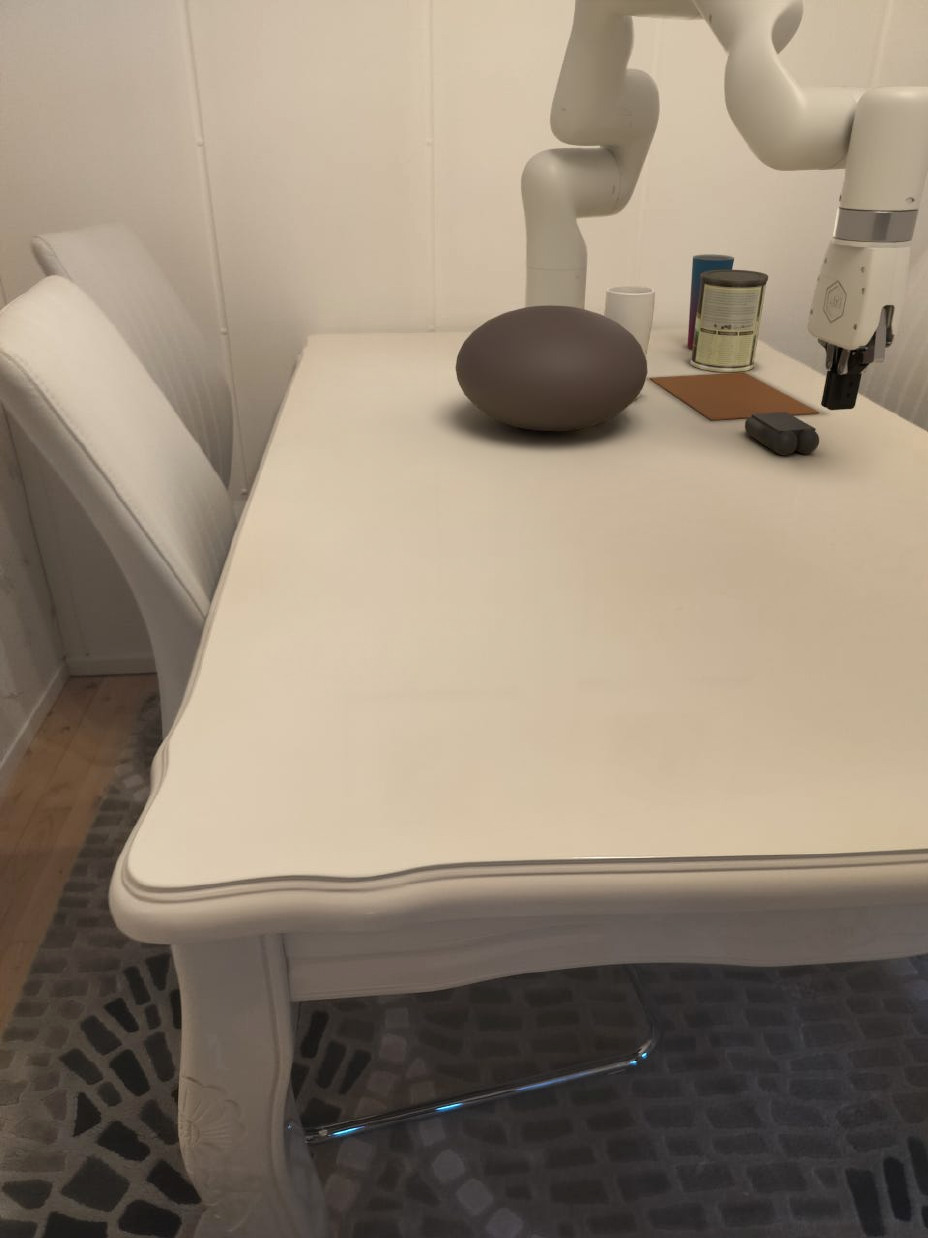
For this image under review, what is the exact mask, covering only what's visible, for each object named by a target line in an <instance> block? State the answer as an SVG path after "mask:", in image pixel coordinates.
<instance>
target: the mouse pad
mask: <svg viewBox="0 0 928 1238" xmlns="http://www.w3.org/2000/svg"><path fill="white" fill-rule="evenodd" d="M649 380H650V381H652V382H653V383H655V384H656V385H658V386H659V387H661V388H662V389H663V390H665V391H667V392H668V393H669V394H671V395H672V396H674V397H675V398H677V399H678V400H680V401H681V402H683V403H684V404H686V405H687V406H688V407H690V408H691V409H693V410H695V411H696V412H697V413H699V414H700V415H702V416H703V417H705V418H706V419H707V420H709V421H724V420H725V421H726V420H740V419H747V418H748V417H749V416H751V415H752V414H755V413H761V414H764V413H774V412H787V413H789V414H791V415H793V416H801V415H802V416H803V415H815V414H819V411H818V410H816V409H814V408H812V407H810V406H809V405H806V404H804V403H803V402H801V401H799V400H797V399H796V398H793V397H791V396H790V395H788V394H786V393H784V392H782V391H780V390H778V389H776V388H774V387H773V386H771V385H769V384H767V383H765V382H763V381H762V380H759V379H757V378H755V377H754V376H751V375H750V374H748V373H746V372H726V373H712V374H695V375H692V374H691V375H677V376H675V375H674V376H657V377H649Z"/></svg>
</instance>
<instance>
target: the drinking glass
mask: <svg viewBox="0 0 928 1238" xmlns="http://www.w3.org/2000/svg"><path fill="white" fill-rule="evenodd" d="M655 295H656V291H655V289H653V288H651V287H647V286H641V285H640V286H639V285H615V286H610V287H608V288H607V289H606V291H605V298H604V309H603V316H605V317H607V318H609V319H611V320H613V321H615V322H617V323H619V324H620V325H621V326H622V327H624V328H625V329H626V330H627V331H628V332H630V333H631V334H632V335H633V336H634V337H635V339H636V340H637V341H638V342H639V344H640V345H641V347H642V350H643V352H644V355H645V358H646V359H647V353H648V348H649V342H650V337H651V332H652V326H653V320H654V312H655V299H656V298H655ZM640 396H641V392H640V393H639V395H638V396H637V398H636V399H635V400H634V401H637V400H638V399H639V397H640Z"/></svg>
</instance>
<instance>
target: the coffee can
mask: <svg viewBox="0 0 928 1238" xmlns="http://www.w3.org/2000/svg"><path fill="white" fill-rule="evenodd" d="M700 279H701V282H700V291H699V299H698V307H697V316H696V324H695V332H694V340H693V348H692V350H691V358H690V365H691V366H692V367H693V368H697V369H699V370H703V371H709V372H716V373H742V372H746V371H749V370H752V369H753V368H754V367H755V357H756V351H757V345H758V339H759V332H760V328H761V327H760V326H761V321H762V320H761V319H762V312H763V307H764V301H765V295H766V290H767V289H766V288H767V282H768V280H769V275H768V274H766V273H764V272H760V271H755V270H745V269H732V270H711V271H706V272H703V273H701V276H700Z"/></svg>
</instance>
